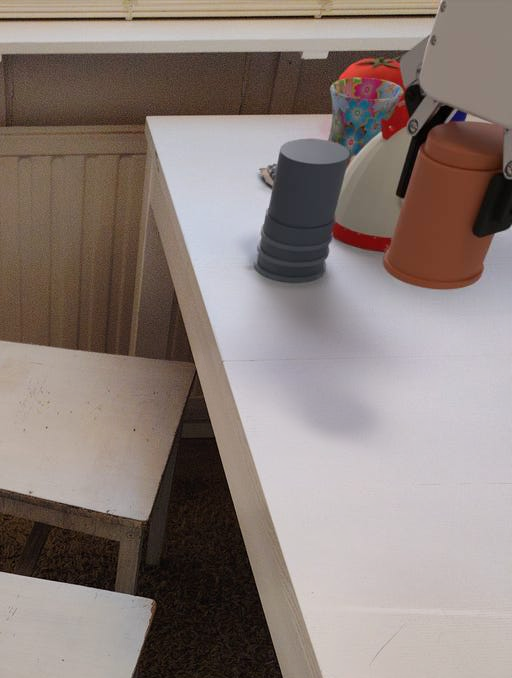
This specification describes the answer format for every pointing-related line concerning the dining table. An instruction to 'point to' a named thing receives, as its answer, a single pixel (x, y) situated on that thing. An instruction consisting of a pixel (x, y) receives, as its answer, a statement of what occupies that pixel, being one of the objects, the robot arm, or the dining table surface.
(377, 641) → the dining table surface
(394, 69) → the tomato
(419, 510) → the dining table surface
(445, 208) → the terracotta cup
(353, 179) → the kitchen timer
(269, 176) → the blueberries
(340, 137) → the mug
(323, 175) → the cup stack
